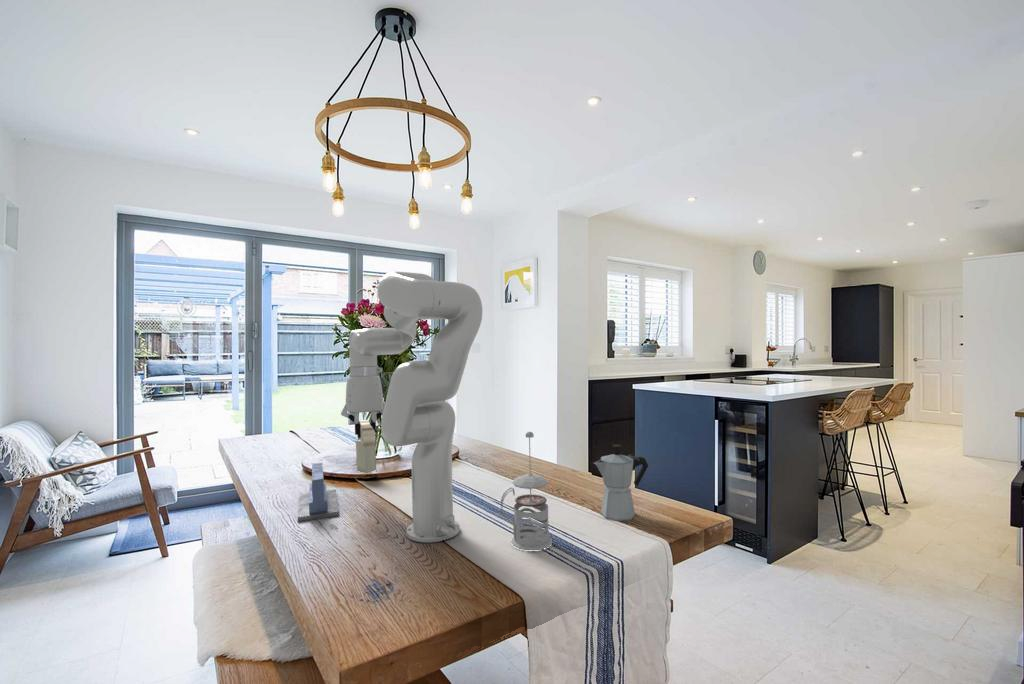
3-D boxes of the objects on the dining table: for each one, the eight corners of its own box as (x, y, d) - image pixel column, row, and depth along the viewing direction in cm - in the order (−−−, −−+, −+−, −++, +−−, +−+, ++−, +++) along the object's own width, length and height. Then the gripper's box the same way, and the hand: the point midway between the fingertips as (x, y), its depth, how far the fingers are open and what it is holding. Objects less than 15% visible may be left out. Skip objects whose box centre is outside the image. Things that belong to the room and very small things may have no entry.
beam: (375, 445, 130) (374, 430, 130) (363, 446, 129) (363, 431, 129) (367, 432, 149) (367, 419, 149) (357, 433, 148) (357, 420, 148)
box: (377, 477, 162) (376, 439, 161) (366, 481, 158) (365, 441, 158) (366, 475, 164) (365, 437, 164) (356, 478, 161) (355, 440, 161)
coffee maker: (601, 523, 119) (599, 450, 118) (588, 511, 127) (587, 443, 127) (656, 517, 122) (655, 446, 121) (640, 505, 130) (639, 439, 130)
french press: (557, 550, 104) (554, 435, 104) (503, 553, 103) (500, 437, 103) (549, 532, 114) (547, 426, 114) (500, 535, 113) (498, 428, 113)
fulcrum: (339, 515, 127) (338, 478, 127) (297, 522, 123) (296, 483, 123) (335, 493, 146) (335, 460, 146) (299, 498, 142) (298, 464, 142)
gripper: (390, 370, 146) (392, 431, 146) (333, 373, 139) (334, 436, 139) (394, 371, 139) (396, 435, 139) (334, 374, 132) (336, 441, 132)
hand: (365, 435), depth 139 cm, fingers closed on beam, 3 cm apart
